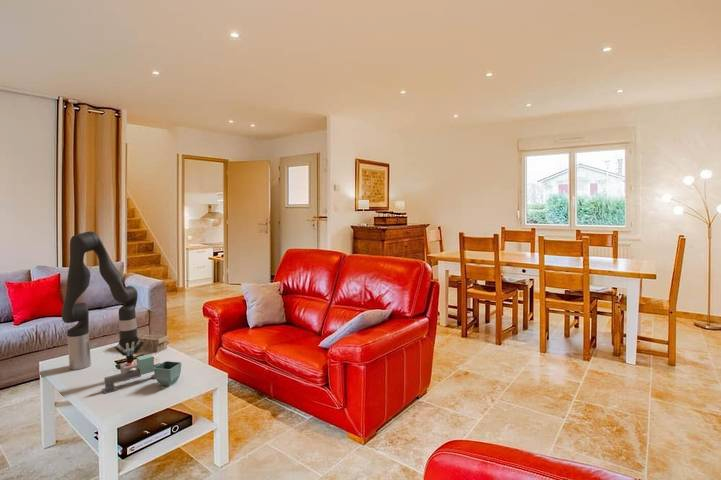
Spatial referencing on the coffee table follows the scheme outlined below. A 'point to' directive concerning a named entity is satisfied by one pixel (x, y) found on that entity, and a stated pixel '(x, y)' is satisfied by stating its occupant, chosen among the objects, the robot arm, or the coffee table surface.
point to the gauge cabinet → (129, 369)
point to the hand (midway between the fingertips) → (130, 362)
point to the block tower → (152, 343)
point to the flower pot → (167, 372)
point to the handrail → (111, 379)
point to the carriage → (145, 363)
